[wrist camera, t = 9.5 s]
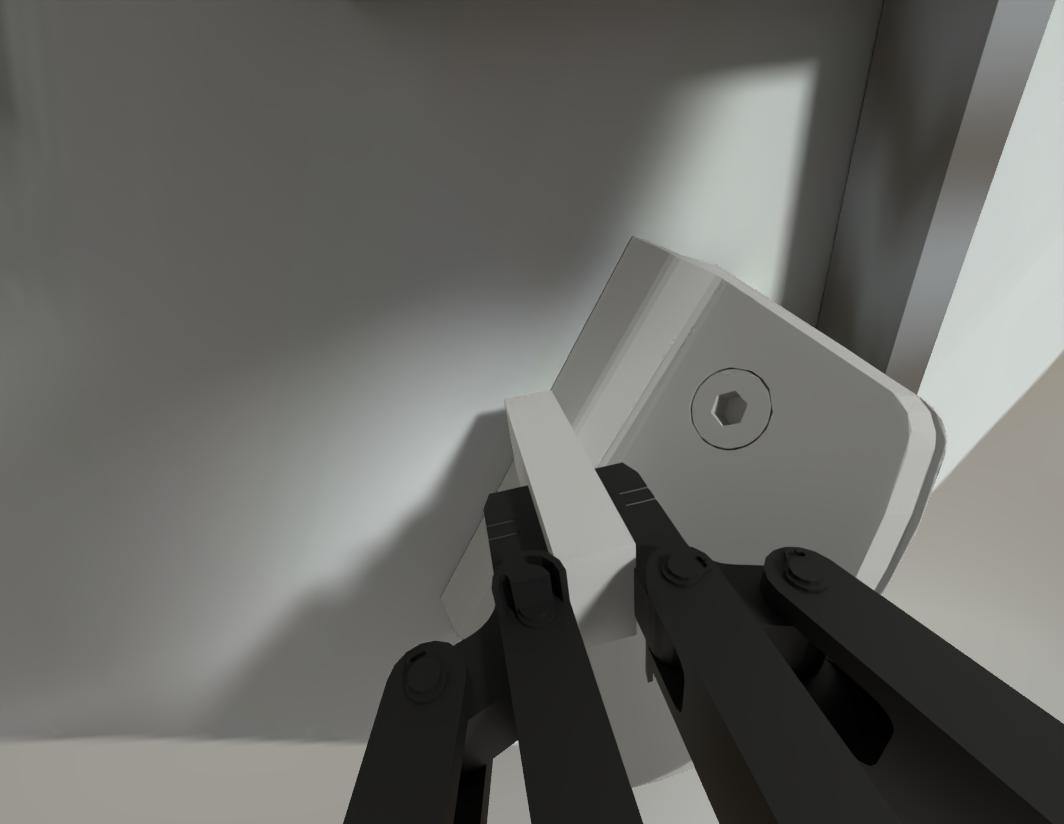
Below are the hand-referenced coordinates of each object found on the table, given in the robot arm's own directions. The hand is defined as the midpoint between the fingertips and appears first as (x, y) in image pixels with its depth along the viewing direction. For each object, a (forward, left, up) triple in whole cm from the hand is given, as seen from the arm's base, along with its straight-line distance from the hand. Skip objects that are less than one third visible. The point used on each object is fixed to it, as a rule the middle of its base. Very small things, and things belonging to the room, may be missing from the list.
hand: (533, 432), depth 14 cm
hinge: (+4, +3, -2) cm, 5 cm away
